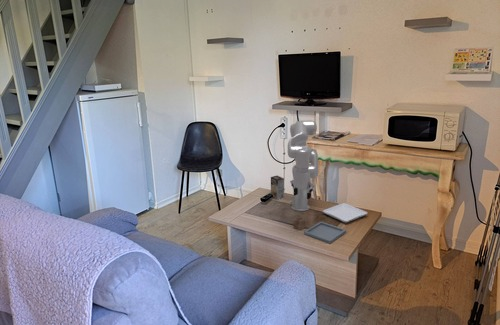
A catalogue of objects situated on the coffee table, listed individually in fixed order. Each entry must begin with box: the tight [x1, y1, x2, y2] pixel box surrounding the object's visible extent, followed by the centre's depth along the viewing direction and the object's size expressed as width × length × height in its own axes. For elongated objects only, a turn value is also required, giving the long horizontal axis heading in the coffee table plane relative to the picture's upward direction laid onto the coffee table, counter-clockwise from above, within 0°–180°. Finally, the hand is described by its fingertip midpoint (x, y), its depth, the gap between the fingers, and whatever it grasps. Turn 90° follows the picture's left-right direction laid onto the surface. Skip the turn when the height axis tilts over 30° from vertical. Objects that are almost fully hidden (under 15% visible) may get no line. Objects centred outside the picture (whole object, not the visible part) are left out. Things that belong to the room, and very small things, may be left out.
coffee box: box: [270, 175, 285, 201], centre depth 271 cm, size 9×6×16 cm
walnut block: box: [293, 216, 306, 232], centre depth 222 cm, size 5×5×6 cm
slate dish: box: [303, 221, 347, 245], centre depth 214 cm, size 18×18×2 cm
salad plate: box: [322, 202, 368, 223], centre depth 238 cm, size 21×21×3 cm
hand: (302, 196), depth 217 cm, fingers open, 9 cm apart
